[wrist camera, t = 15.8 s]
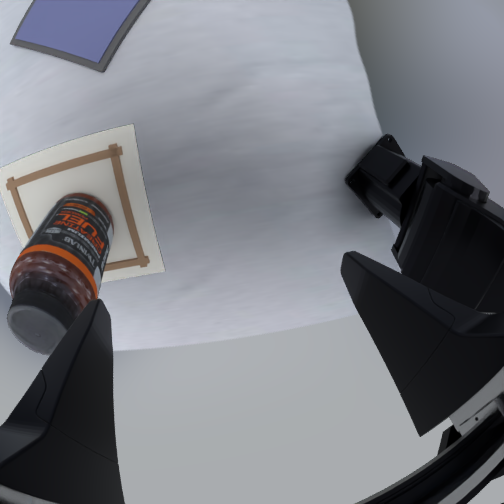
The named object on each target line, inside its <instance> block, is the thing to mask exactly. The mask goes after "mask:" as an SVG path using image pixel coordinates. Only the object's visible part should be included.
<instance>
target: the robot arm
mask: <svg viewBox="0 0 504 504" xmlns="http://www.w3.org/2000/svg"><path fill="white" fill-rule="evenodd" d="M388 138H389V141H388ZM351 180H352V182H351V183H350V181H351ZM345 181H346V184H347V185H348V186H349V187H350V189H351V190H352V191H353V192H354V193H355V194H356V195H357V196H358V198H359V199H360V200H361V201H362V202H363V203H364V205H365V206H366V207H367V208H368V209H369V210H370V212H371V213H372V214H373V215H374V216H375V217H376V218H380V217H381V216H382V215H383V214H384V215H385V216H386V217H387V218H389V219H390V220H391V221H392V222H393V223H394V224H396V225H397V226H398V227H399V228H400V232H399V234H398V237H397V239H396V242H395V244H393V247H392V249H391V251H392V253H393V255H394V257H395V259H396V261H397V263H398V265H399V267H400V269H401V273H402V274H401V273H399V272H397V271H395V270H393V269H391V268H389V267H387V266H385V265H383V264H381V263H379V262H377V261H374V260H372V259H370V258H368V257H366V256H364V255H362V254H360V253H358V252H356V251H350V252H346V253H344V255H343V260H342V265H341V275H342V278H343V280H344V282H345V285H346V287H347V289H348V292H349V294H350V296H351V299H352V301H353V303H354V305H355V307H356V309H357V311H358V313H359V315H360V317H361V318H362V320H363V322H364V324H365V326H366V328H367V330H368V331H369V333H370V335H371V337H372V339H373V341H374V343H375V345H376V346H377V348H378V350H379V352H380V354H381V356H382V358H383V360H384V362H385V364H386V366H387V368H388V370H389V372H390V374H391V376H392V378H393V380H394V382H395V384H396V386H397V388H398V390H399V392H400V393H401V394H400V395H401V397H402V399H403V401H404V403H405V405H406V407H407V410H408V412H409V414H410V416H411V419H412V421H413V423H414V425H415V428H416V430H417V432H418V434H419V436H420V437H421V436H423V435H424V434H426V433H427V432H429V431H430V430H432V429H433V428H434V427H436V426H437V425H439V424H440V423H441V422H443V421H444V420H446V419H447V418H448V417H449V418H450V420H451V421H452V423H453V425H452V426H450V427H449V428H448V429H446V430H445V431H444V432H443V434H442V439H441V443H440V447H439V450H438V455H437V456H436V457H435V458H433V459H432V460H430V461H429V462H428V463H426V464H425V465H423V466H422V467H420V468H419V469H417V470H416V471H414V472H413V473H411V474H409V475H408V476H406V477H404V478H403V479H401V480H399V481H398V482H396V483H395V484H393V485H391V486H389V487H387V488H385V489H384V490H382V491H380V492H378V493H376V494H374V495H372V496H370V497H368V498H366V499H364V500H362V501H359V502H357V503H355V504H467V503H468V502H469V501H470V500H471V499H472V498H473V497H475V496H476V495H477V494H478V493H479V492H480V491H481V490H482V489H483V488H484V487H485V486H486V485H487V484H488V483H489V482H490V481H491V480H493V479H496V478H498V477H501V476H503V475H504V208H503V207H501V206H500V205H498V204H497V203H495V202H494V201H492V200H490V199H489V198H488V196H489V193H490V192H489V190H488V189H487V188H486V187H485V186H484V185H483V184H482V183H481V182H480V181H479V180H478V179H477V178H476V177H475V175H473V174H472V173H470V172H468V171H466V170H464V169H462V168H460V167H459V166H457V165H455V164H452V163H449V162H445V161H442V160H439V159H436V158H432V157H428V156H425V155H423V158H422V166H421V165H419V164H417V163H415V162H413V161H411V160H410V159H407V158H406V157H405V155H404V153H403V152H402V150H401V149H400V147H399V145H398V144H397V142H396V140H395V139H394V137H393V136H392V135H390V134H386V135H385V136H384V137H383V138H382V139H381V140H380V141H379V142H378V143H377V144H376V146H375V147H374V148H373V149H372V150H371V151H370V152H369V153H368V154H367V156H366V157H365V158H364V159H363V160H362V161H361V162H360V163H359V164H358V165H357V167H356V168H355V169H354V170H353V171H352V172H351V173H350V174H349V175H348V176H347V178H346V180H345ZM378 212H379V213H378ZM377 213H378V214H377ZM113 404H114V403H113V347H112V331H111V318H110V314H109V312H108V311H107V309H106V307H105V305H104V303H103V301H102V300H101V299H94V300H91V301H89V303H88V304H87V305H86V306H85V308H84V309H83V310H82V312H81V313H80V314H79V316H78V317H77V318H76V320H75V321H74V322H73V324H72V325H71V326H70V328H69V329H68V331H67V332H66V333H65V335H64V336H63V338H62V339H61V340H60V342H59V343H58V345H57V346H56V348H55V349H54V351H53V352H52V353H51V355H50V356H49V358H48V360H47V361H46V362H45V364H44V366H43V367H42V370H40V372H39V373H38V375H37V376H36V378H35V379H34V381H33V382H32V384H31V386H30V387H29V389H28V390H27V391H26V393H25V395H24V396H23V397H22V399H21V400H20V401H19V403H18V404H17V406H16V407H15V408H14V410H13V411H12V413H11V414H10V416H9V417H8V419H7V420H6V421H5V422H4V423H3V424H2V425H1V426H0V504H125V502H124V497H123V491H122V486H121V479H120V472H119V465H118V458H117V448H116V437H115V424H114V405H113ZM501 504H504V503H501Z"/></svg>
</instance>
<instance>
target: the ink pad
mask: <svg viewBox="0 0 504 504" xmlns="http://www.w3.org/2000/svg"><path fill="white" fill-rule="evenodd" d="M150 1H151V0H33V2H32V3H31V5H30V7H29V8H28V10H27V12H26V13H25V15H24V17H23V19H22V21H21V22H20V24H19V26H18V28H17V30H16V32H15V34H14V36H13V38H12V40H11V42H10V44H11V45H15V46H20V47H24V48H28V49H32V50H35V51H39V52H43V53H46V54H49V55H53V56H56V57H59V58H63V59H66V60H69V61H72V62H75V63H78V64H81V65H84V66H86V67H89V68H92V69H95V70H98V71H100V72H104V71H105V70H106V68H107V66H108V64H109V62H110V61H111V59H112V57H113V55H114V54H115V52H116V50H117V49H118V47H119V45H120V44H121V42H122V41H123V39H124V37H125V36H126V34H127V33H128V31H129V30H130V28H131V27H132V25H133V24H134V22H135V21H136V19H137V18H138V17H139V15H140V14H141V13H142V11H143V10H144V8H145V7H146V6H147V4H148V3H149V2H150Z"/></svg>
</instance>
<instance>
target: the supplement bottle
mask: <svg viewBox="0 0 504 504" xmlns="http://www.w3.org/2000/svg"><path fill="white" fill-rule="evenodd" d="M113 234H114V225H113V220H112V217H111V215H110V213H109V211H108V210H107V208H106V207H105V206H104V205H103V204H102V203H101V202H100V201H99V200H97V199H96V198H95V197H93V196H90V195H87V194H82V193H73V194H68V195H66V196H64V197H62V198H61V199H60V200H58V201H57V202H56V203H55V205H54V206H53V207H52V208H51V209H50V211H49V212H48V213H47V215H46V216H45V217H44V219H43V220H42V222H41V223H40V224H39V226H38V227H37V229H36V230H35V232H34V233H33V235H32V236H31V238H30V239H29V241H28V242H27V244H26V245H25V247H24V248H23V250H22V252H21V253H20V255H19V257H18V258H17V260H16V262H15V264H14V266H13V268H12V271H11V274H10V280H9V286H10V292H11V296H12V298H13V300H12V304H11V307H10V309H9V312H8V315H7V322H8V326H9V328H10V330H11V332H12V333H13V335H14V336H15V337H16V338H17V339H18V340H19V341H20V342H21V343H22V344H23V345H25V346H26V347H28V348H29V349H31V350H33V351H35V352H37V353H41V354H44V355H51V353H52V352H53V351H54V349H55V348H56V346H57V345H58V343H59V342H60V340H61V339H62V338H63V336H64V335H65V333H66V332H67V331H68V329H69V328H70V326H71V325H72V324H73V322H74V321H75V320H76V318H77V317H78V316H79V314H80V313H81V312H82V310H83V309H84V308H85V306H86V305H87V304H88V303H89V301H91V300H94V299H97V298H98V294H99V289H100V285H101V281H102V277H103V273H104V269H105V265H106V262H107V258H108V254H109V251H110V247H111V244H112V240H113Z"/></svg>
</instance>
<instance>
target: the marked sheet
mask: <svg viewBox="0 0 504 504" xmlns="http://www.w3.org/2000/svg"><path fill="white" fill-rule="evenodd" d="M0 192H1V195H2V198H3V201H4V204H5V206H6V209H7V212H8V214H9V217H10V219H11V222H12V224H13V227H14V229H15V232H16V234H17V236H18V238H19V241H20V243H21V245H22V247H23V248H24V247H25V245H26V244H27V242H28V241H29V239H30V238H31V236H32V235H33V233H34V232H35V230H36V229H37V227H38V226H39V224H40V223H41V222H42V220H43V219H44V217H45V216H46V215H47V213H48V212H49V211H50V209H51V208H52V207H53V206H54V205H55V203H56V202H57V201H58V200H60V199H61V198H62V197H64V196H66V195H68V194H73V193H82V194H87V195H90V196H93V197H95V198H96V199H97V200H99V201H100V202H101V203H102V204H103V205H104V206H105V207H106V208H107V210H108V211H109V213H110V215H111V217H112V220H113V225H114V234H113V240H112V244H111V247H110V251H109V254H108V258H107V262H106V265H105V269H104V273H103V277H102V281H101V283H103V282H109V281H114V280H120V279H126V278H131V277H137V276H143V275H148V274H154V273H159V272H165V267H164V264H163V260H162V256H161V253H160V249H159V245H158V241H157V237H156V233H155V229H154V225H153V221H152V217H151V212H150V208H149V204H148V199H147V194H146V190H145V185H144V180H143V175H142V170H141V164H140V159H139V153H138V148H137V142H136V136H135V129H134V124H129V125H125V126H121V127H117V128H113V129H109V130H105V131H101V132H97V133H94V134H90V135H87V136H84V137H80V138H77V139H74V140H71V141H68V142H65V143H62V144H59V145H56V146H53V147H50V148H47V149H45V150H42V151H39V152H37V153H34V154H32V155H29V156H27V157H24V158H22V159H19V160H17V161H15V162H12V163H10V164H8V165H6V166H4V167H1V168H0Z"/></svg>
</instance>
